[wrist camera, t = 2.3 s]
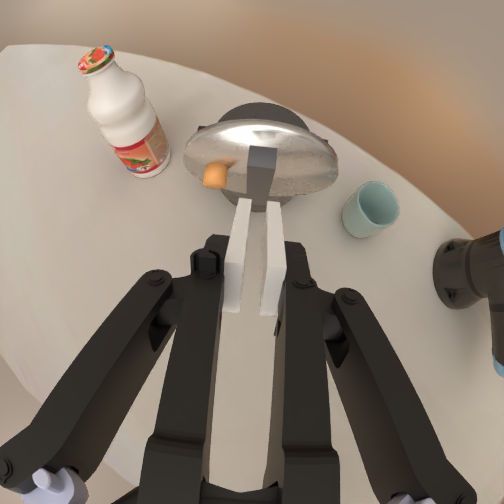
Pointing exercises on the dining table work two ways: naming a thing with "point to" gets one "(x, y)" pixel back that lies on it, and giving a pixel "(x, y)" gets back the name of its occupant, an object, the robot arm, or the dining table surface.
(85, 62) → the fruit juice
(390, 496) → the robot arm
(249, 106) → the cooker pot
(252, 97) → the dining table surface
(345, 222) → the cup
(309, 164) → the lid
